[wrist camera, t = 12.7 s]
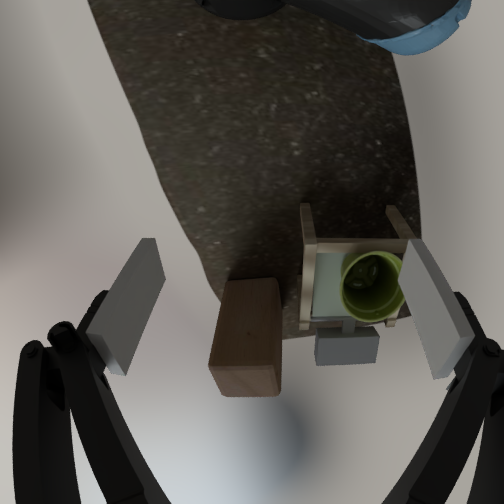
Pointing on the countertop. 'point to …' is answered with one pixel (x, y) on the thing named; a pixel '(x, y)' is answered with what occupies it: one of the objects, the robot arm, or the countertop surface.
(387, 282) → the plant pot
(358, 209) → the countertop surface
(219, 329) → the wooden block
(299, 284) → the frame
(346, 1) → the robot arm
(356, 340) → the trapdoor
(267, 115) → the countertop surface
